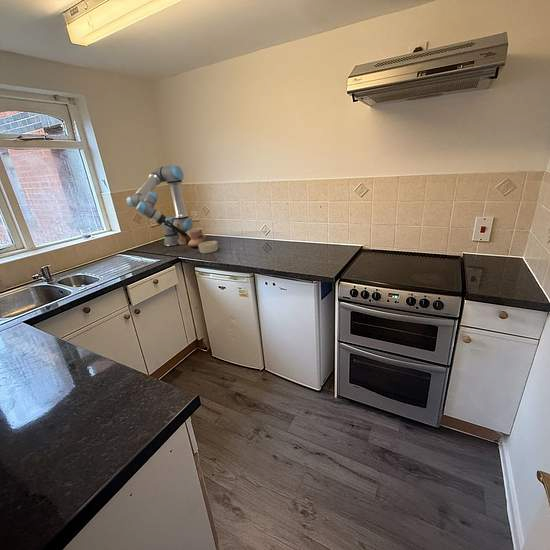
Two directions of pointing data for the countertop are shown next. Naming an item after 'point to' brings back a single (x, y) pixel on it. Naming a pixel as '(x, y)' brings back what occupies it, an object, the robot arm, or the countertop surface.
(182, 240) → the brush
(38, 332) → the countertop surface
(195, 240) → the ceramic jug
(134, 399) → the countertop surface
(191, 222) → the robot arm
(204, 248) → the bowl
